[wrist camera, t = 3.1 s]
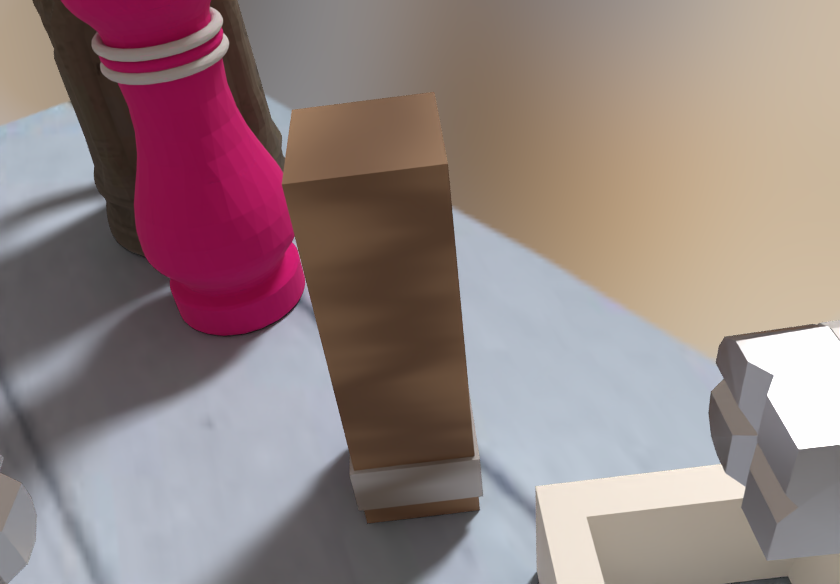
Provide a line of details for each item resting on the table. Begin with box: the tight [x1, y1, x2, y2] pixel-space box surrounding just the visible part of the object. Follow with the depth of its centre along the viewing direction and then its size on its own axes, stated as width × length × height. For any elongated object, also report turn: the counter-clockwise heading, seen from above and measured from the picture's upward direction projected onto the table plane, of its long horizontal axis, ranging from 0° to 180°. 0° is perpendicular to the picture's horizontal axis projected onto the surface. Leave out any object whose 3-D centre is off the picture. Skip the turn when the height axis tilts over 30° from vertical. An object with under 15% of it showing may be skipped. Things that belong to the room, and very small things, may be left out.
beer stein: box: [33, 0, 285, 256], centre depth 41 cm, size 15×11×20 cm
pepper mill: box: [61, 0, 305, 336], centre depth 32 cm, size 7×7×20 cm
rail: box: [282, 92, 483, 524], centre depth 24 cm, size 4×4×14 cm
